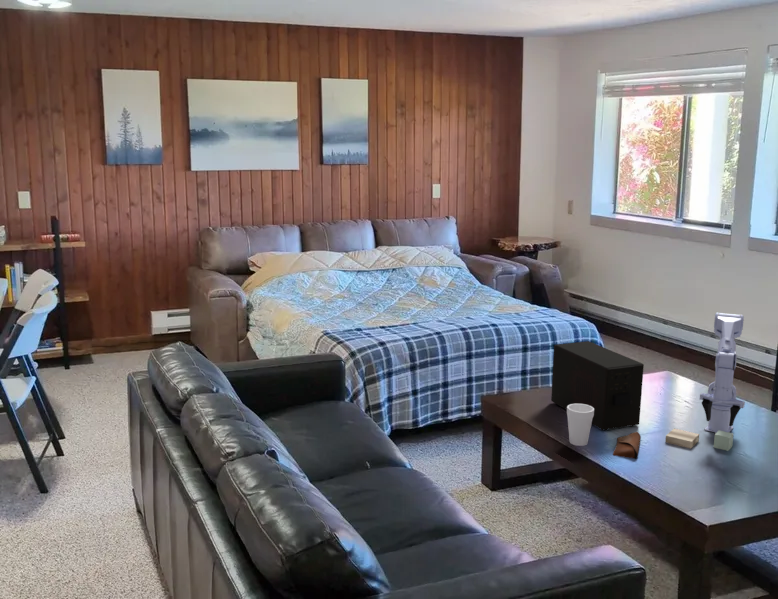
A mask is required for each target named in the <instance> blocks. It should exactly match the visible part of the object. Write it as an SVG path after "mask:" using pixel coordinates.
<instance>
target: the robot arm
mask: <svg viewBox="0 0 778 599" xmlns="http://www.w3.org/2000/svg"><path fill="white" fill-rule="evenodd" d="M744 318H745V317H744V315H743V313H741V314H739V313H736V314H735V313H726V312H725V313H724V312H717V311H716V313H715V314H714V322H713V332H714V335H715V336H717V337H718V338H719V341H718V346H717V353H715V361H714V362H715V363H714V367H715V371H714V372H715V374H714V381H712V382H711V383H709V385H708V389H707V393H706V392H705V393H704V392H701V393H700V394H699V400H702V401H701V405H702V408H703V411H704V414H705V417H706V418H705V420H706V422H708V423H707V426H706V427H705V428H704V431H706V432H710V433H711V432H712V433H715V434H716V433H717V432H718V431H719V430H720V431H725V432H729V433H731V431H732V430H733V428H734V426H733V425H734V422H735V419H736V417H737V415H738V413H739V412H740V410H741V409H744V408H745V405H746V404H745V401H744V400H740V399H737V388H736V386H735V385H734V384H733V382H734V374H735V370H736V368H737V352H736V350H737V349H736V347H737V343H736V341H735V339H737V338H741V335H742V333H743V330H744V321H745V320H744Z"/></svg>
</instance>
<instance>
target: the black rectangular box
mask: <svg viewBox="0 0 778 599" xmlns="http://www.w3.org/2000/svg"><path fill="white" fill-rule="evenodd" d="M552 359H553V362H552V379H551V380H552V381H551V396H550V397H551V398H550V400H551V402H552V403H553V404H556V405H558V407H561V408H563V409H564V410H566V411H567V406H568V405H570V404H586V405H589V406H592V407H593V408H594V417H593V419H592V424H591V426H592V425H593V426H594V427H596V428H598V429H600V430H601V431H608V430H615V429H619V428H626V427H634V426H639V425H640V416H641V406H642V405H641V404H642V396H643V395H642V394H643V393H642V390H643V379H644V367H645V366H644V365H645V364H644V363H642V362H640V361H638V360H635V359H633V358H630V357H629V356H628V357H627V356H626V355H623V354H621V353H618V352H615V351H613V350H610V349H608V348H606V347H603V346H601V345H599V344H596V343H594V342H592V341H589V340H587V341H579V342H569V343H566V342H565V343H558V344H554V346H553V358H552Z"/></svg>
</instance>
